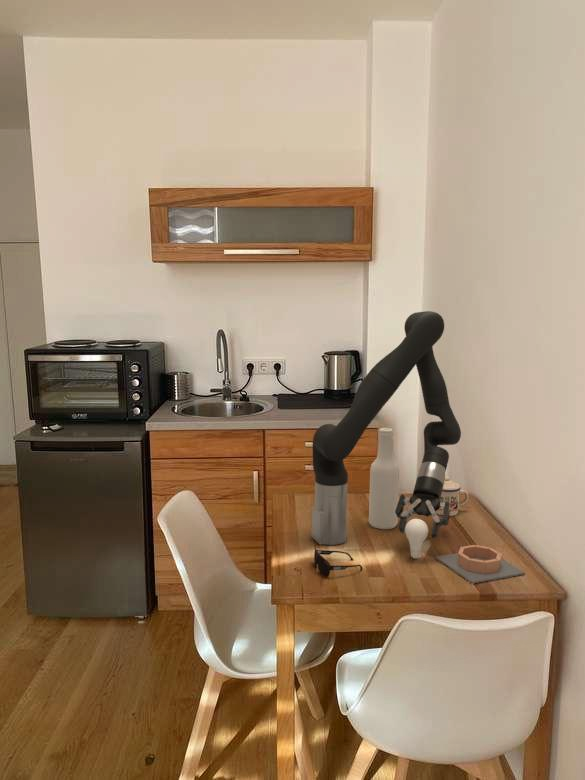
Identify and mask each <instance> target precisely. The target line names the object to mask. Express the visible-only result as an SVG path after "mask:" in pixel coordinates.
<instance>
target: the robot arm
mask: <svg viewBox="0 0 585 780" xmlns="http://www.w3.org/2000/svg"><path fill="white" fill-rule="evenodd" d="M444 331H445V321H444V318H443V317H442V315H441V314H439V313H438V312H436V311H427V310H426V311H419V312H418V311H417V312H413V313H411V314H410V315H409V316H407V318H406V320H405V322H404V333H405V337H404V338H403V339H402V341H401V343H400V344H399V345H397V347H395V348H394V349H393V350H391V352H389V353H388V354H386V355H385V356H384V357H382V359H380V360H379V361H378V362H376V364H375V365H373V367H372V368H371V369H370V370H369V372H368V373H366V375H365V377H364V378H363V379H362V381H361V382H360V384H359V385H358V387H357V389H356V392H355V395H354V398H353V401H352V404H351V406H350V408H349V410H348V411H347V412H346V414H345V415H344V417H343V418H342V419H341V420H340V421H339V422H338V423H337V425H335V424H333V423H325V424H323V425H320V426H319V427H318V428H317V429H316V430H315V432H314V435H313V438H312V468H313V473H314V480H315V481H314V482H315V483H314V504H313V505H312V506H311V538H312V539H313V540H315V542H316V543H317V544H319V545H329V546H330V545H331V546H334V545H335V546H336V545H341V544H343V543H345V542H346V541H347V529H348V528H347V526H348V525H347V524H348V523H347V522H348V521H347V518H348V484H349V483H348V479H349V478H348V477H349V476H348V475H349V474H348V471H347V468H346V467H345V464H344V460H345V459H346V458H347V457H348V456H349V455H350V454H351V453H352V452H353V450H354V449H355V447H356V445H357V443H358V442H359V441H360V439H361V437H362V436H363V434H364V433H365V431H366V429H367V428H368V427H369V426H370V424H371V423H372V422H373V420H375V418H376V417H377V416H378V414H379V412H380V411H381V410H382V409H383V407H384V406H385V405H386V404H387V403H388V402H389V400H390V399H391V398H392V397H393V395H394V394H395V393H396V391H397V390H398V389H399V387H400V386H401V384H403V382H404V381H405V380H406V378H407V377H408V375H410V373H411V372H412V371H413V369H414V368H415V366H416V371H417V374H418V378H419V381H420V387H421V393H422V398H423V403H424V409H425V412H426V413H427V415H431V416H435V417H438V418H439V419H440V420H441V421H439V420H438V421H430V422H428V423H427V424H426V425H425V426H424V429H423V442H424V443H423V444H424V446H423V447H424V449H423V452H424V453H423V458H422V461H421V465H420V467H419V470H418V473H417V476H416V481H415V484H414V487H413V491H412V492H413V493H412V495H411V496H410V497H408V496H405V495H404V494H400V495H399V501H398V504H397V507H396V510H395V513H396V515H397V517H398V519H399V521H398V522H399V523H398V526H397V527H398V530H399V531H400V533H401V534H405V526H406V524H407V523H408V520H409V518H411V517H413V516H415V515H418V516H424V517H430V516H431V518H432V519H433V521H434V522H433V524H432V528H431V533H430V536H431V539H435V540H436V538H437V537H438V536H439V532H440V528H441V526H448V525H449V521H450V516H449V515H450V509H451V507H450V504H449V502H445V503H440V498H441V494H442V490H443V485H444V483H445V477H446V472H447V468H448V463H449V459H450V454H449V452H448V450H446V449H445V448H443V447H441V446H453V445H457V443H459V441H460V439H461V436H462V430H461V426H460V424H459V422H458V420H457V418H456V416H455V415H454V412H453V409H452V408H451V404H450V401H449V394H448V389H447V384H446V381H445V378H444V376H443V374H442V371H441V370H440V368H439V365H438V362H437V360H436V357H435V354H434V353H435V352H434V349H433V348H434V347H433V346H435V344H437V342H438V341H439V340H440V339H441V338H442V336H443V334H444ZM408 503H410V505H409V506H408V507H406V509H405V510H404V508H405V506H407V505H408ZM440 507H441V508H442V510H443V511H444V512H443V516H442V518H439V515H437V514H436V511H437V510H438V509H439V508H440Z"/></svg>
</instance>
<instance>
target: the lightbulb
mask: <svg viewBox="0 0 585 780" xmlns="http://www.w3.org/2000/svg"><path fill="white" fill-rule="evenodd" d="M404 534H405V536H406V538H407V540H408V542H409V549H410V556H411V558H413V559H414V560H417V559H419V558H421V553H422V549H423V544H424V542H425V540H426V539H427V537H428V535H429V527H428V525H427V523H426V522H425V521H424V520H422V519H420V518H412V519H410V520H408V521H407V523H406V526H405V530H404Z"/></svg>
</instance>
